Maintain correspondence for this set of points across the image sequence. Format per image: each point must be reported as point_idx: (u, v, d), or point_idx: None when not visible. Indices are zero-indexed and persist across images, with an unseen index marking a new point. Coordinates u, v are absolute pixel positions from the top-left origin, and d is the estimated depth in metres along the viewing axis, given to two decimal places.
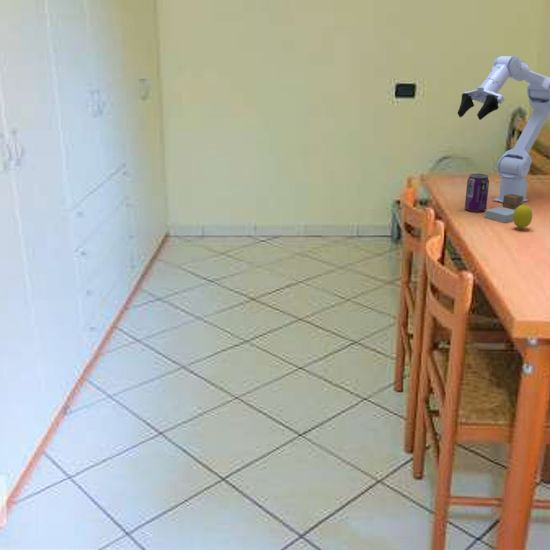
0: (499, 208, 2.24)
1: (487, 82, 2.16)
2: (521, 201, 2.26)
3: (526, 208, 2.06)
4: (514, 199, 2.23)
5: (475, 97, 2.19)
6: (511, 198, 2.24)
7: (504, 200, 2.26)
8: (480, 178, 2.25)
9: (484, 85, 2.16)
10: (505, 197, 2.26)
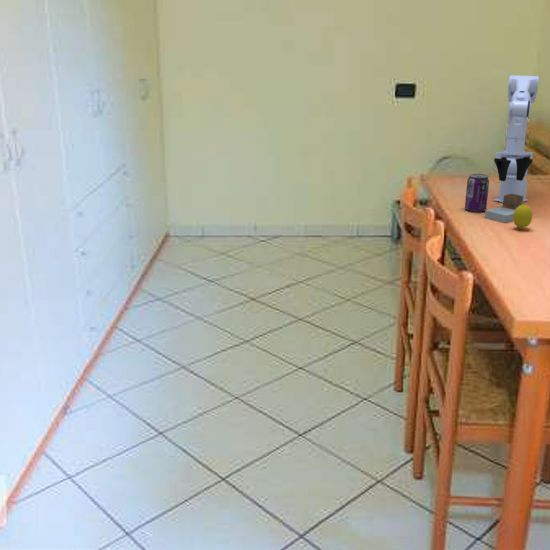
0: (499, 208, 2.24)
1: (522, 143, 2.17)
2: (521, 201, 2.26)
3: (526, 208, 2.06)
4: (514, 199, 2.23)
5: (509, 157, 2.19)
6: (511, 198, 2.24)
7: (504, 200, 2.26)
8: (480, 178, 2.25)
9: (522, 148, 2.17)
10: (505, 197, 2.26)
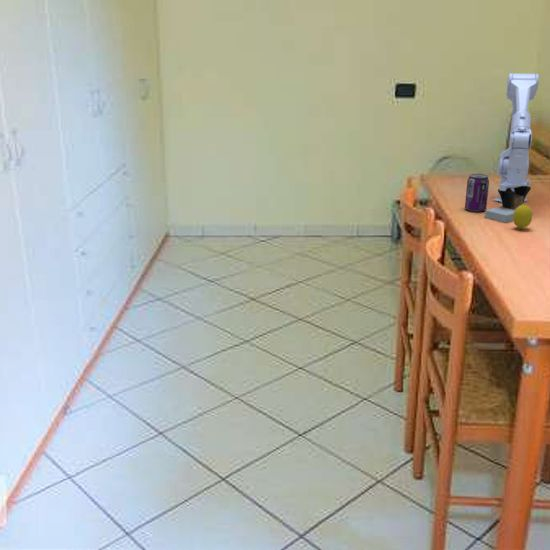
0: (499, 208, 2.24)
1: (524, 174, 2.21)
2: (521, 201, 2.26)
3: (526, 208, 2.06)
4: (514, 199, 2.23)
5: (511, 187, 2.23)
6: None
7: None
8: (480, 178, 2.25)
9: (524, 178, 2.22)
10: None
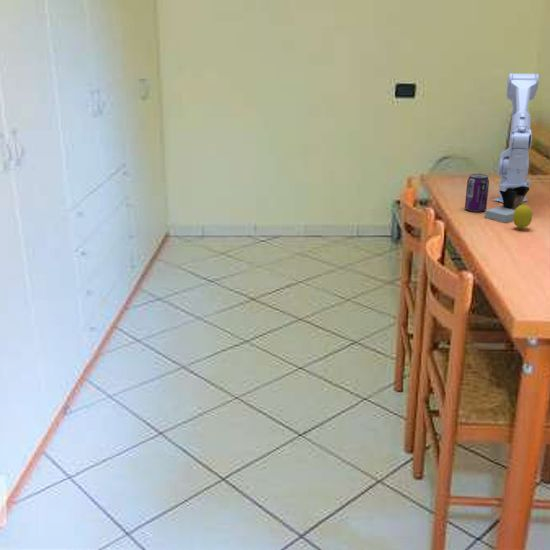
0: (499, 208, 2.24)
1: (524, 174, 2.21)
2: (521, 201, 2.26)
3: (526, 208, 2.06)
4: (514, 199, 2.23)
5: (511, 187, 2.23)
6: None
7: None
8: (480, 178, 2.25)
9: (524, 179, 2.22)
10: None
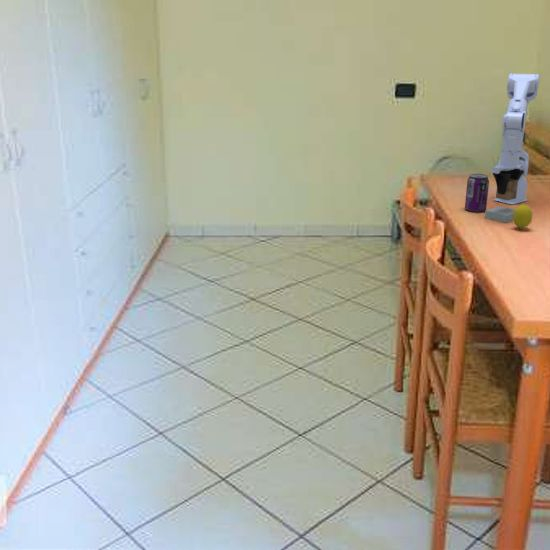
0: (499, 208, 2.24)
1: (518, 156, 2.13)
2: (516, 185, 2.17)
3: (526, 208, 2.06)
4: (508, 183, 2.15)
5: (505, 170, 2.15)
6: None
7: None
8: (480, 178, 2.25)
9: (518, 161, 2.14)
10: None
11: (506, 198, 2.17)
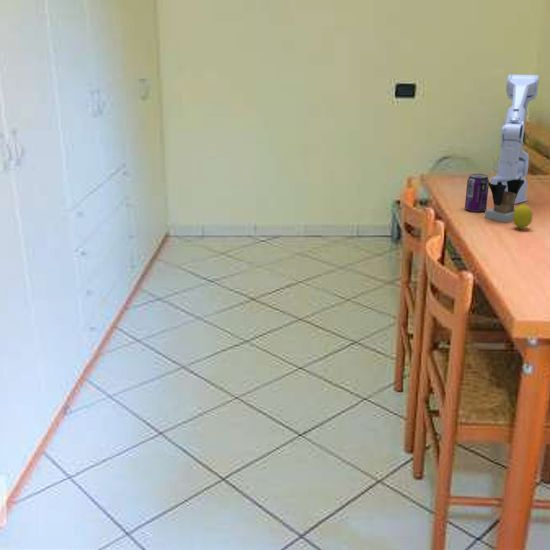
0: None
1: (516, 167, 2.14)
2: (513, 198, 2.19)
3: (526, 208, 2.06)
4: (506, 196, 2.16)
5: (503, 181, 2.16)
6: (503, 195, 2.17)
7: None
8: (480, 178, 2.25)
9: (516, 172, 2.15)
10: None
11: (504, 211, 2.18)
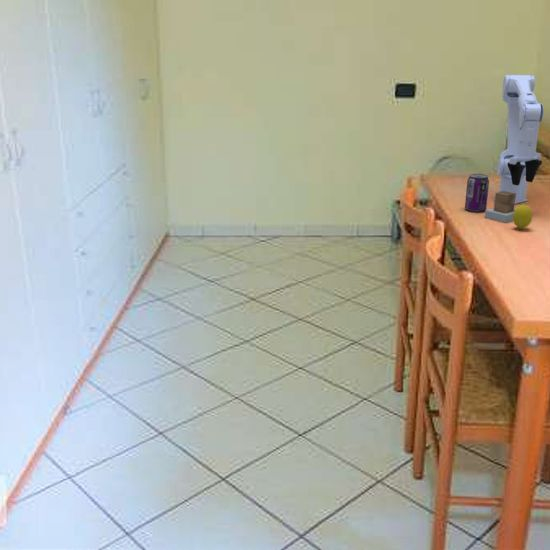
0: None
1: (535, 147, 2.17)
2: (513, 198, 2.19)
3: (526, 208, 2.06)
4: (506, 196, 2.16)
5: (522, 161, 2.19)
6: (503, 195, 2.17)
7: (496, 198, 2.19)
8: (480, 178, 2.25)
9: (534, 152, 2.18)
10: (497, 194, 2.19)
11: (504, 211, 2.18)
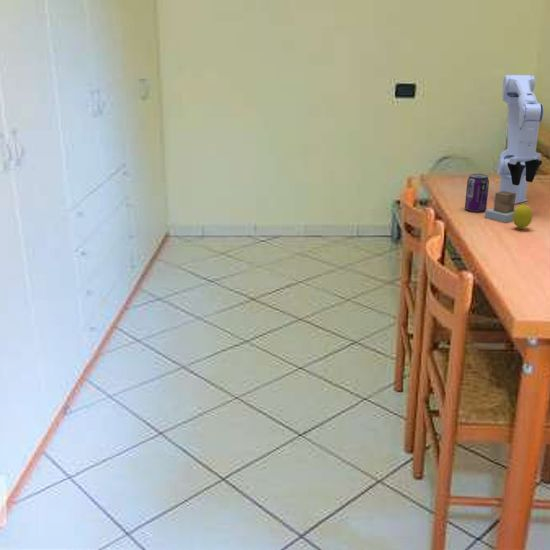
0: None
1: (535, 147, 2.17)
2: (513, 198, 2.19)
3: (526, 208, 2.06)
4: (506, 196, 2.16)
5: (522, 161, 2.19)
6: (503, 195, 2.17)
7: (496, 198, 2.19)
8: (480, 178, 2.25)
9: (534, 152, 2.18)
10: (497, 194, 2.19)
11: (504, 211, 2.18)
